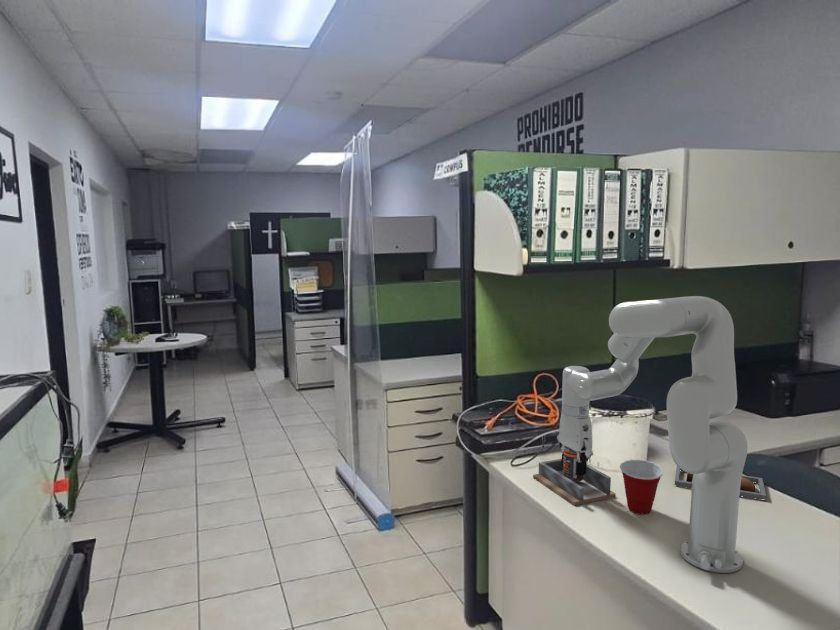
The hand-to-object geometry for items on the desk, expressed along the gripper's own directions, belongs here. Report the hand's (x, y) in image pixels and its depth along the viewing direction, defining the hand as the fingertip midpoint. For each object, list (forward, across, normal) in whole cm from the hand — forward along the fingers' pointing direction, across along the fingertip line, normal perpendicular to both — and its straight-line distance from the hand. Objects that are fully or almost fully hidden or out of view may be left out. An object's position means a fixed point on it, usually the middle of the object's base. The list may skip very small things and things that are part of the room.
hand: (573, 469), depth 170 cm
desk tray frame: (+5, -15, -40) cm, 43 cm away
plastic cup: (+6, -19, -8) cm, 21 cm away
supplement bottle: (+3, 0, 0) cm, 3 cm away
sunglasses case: (+6, -15, -41) cm, 44 cm away
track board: (+5, 0, 0) cm, 5 cm away
